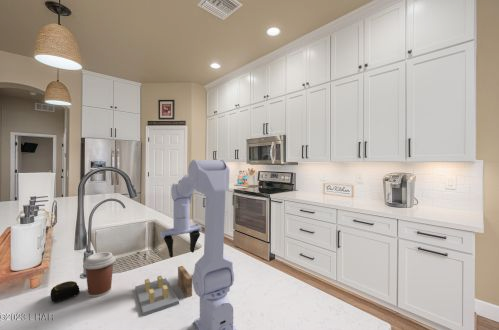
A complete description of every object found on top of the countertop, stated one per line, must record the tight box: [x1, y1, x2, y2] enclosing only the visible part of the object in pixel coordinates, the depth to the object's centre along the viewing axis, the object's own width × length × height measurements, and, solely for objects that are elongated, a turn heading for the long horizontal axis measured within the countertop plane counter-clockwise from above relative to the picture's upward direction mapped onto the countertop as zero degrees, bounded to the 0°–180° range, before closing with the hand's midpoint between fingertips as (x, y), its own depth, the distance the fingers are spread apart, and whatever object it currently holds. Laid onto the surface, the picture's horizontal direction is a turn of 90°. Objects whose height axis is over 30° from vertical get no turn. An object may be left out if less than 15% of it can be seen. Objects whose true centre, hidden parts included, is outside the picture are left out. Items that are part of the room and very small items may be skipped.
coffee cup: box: [82, 251, 117, 298], centre depth 76 cm, size 9×9×12 cm
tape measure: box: [50, 280, 81, 303], centre depth 73 cm, size 7×7×4 cm
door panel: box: [177, 265, 193, 298], centre depth 78 cm, size 10×2×6 cm, turn 34°
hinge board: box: [135, 275, 180, 317], centre depth 74 cm, size 16×10×4 cm, turn 34°
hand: (181, 253), depth 83 cm, fingers open, 7 cm apart
